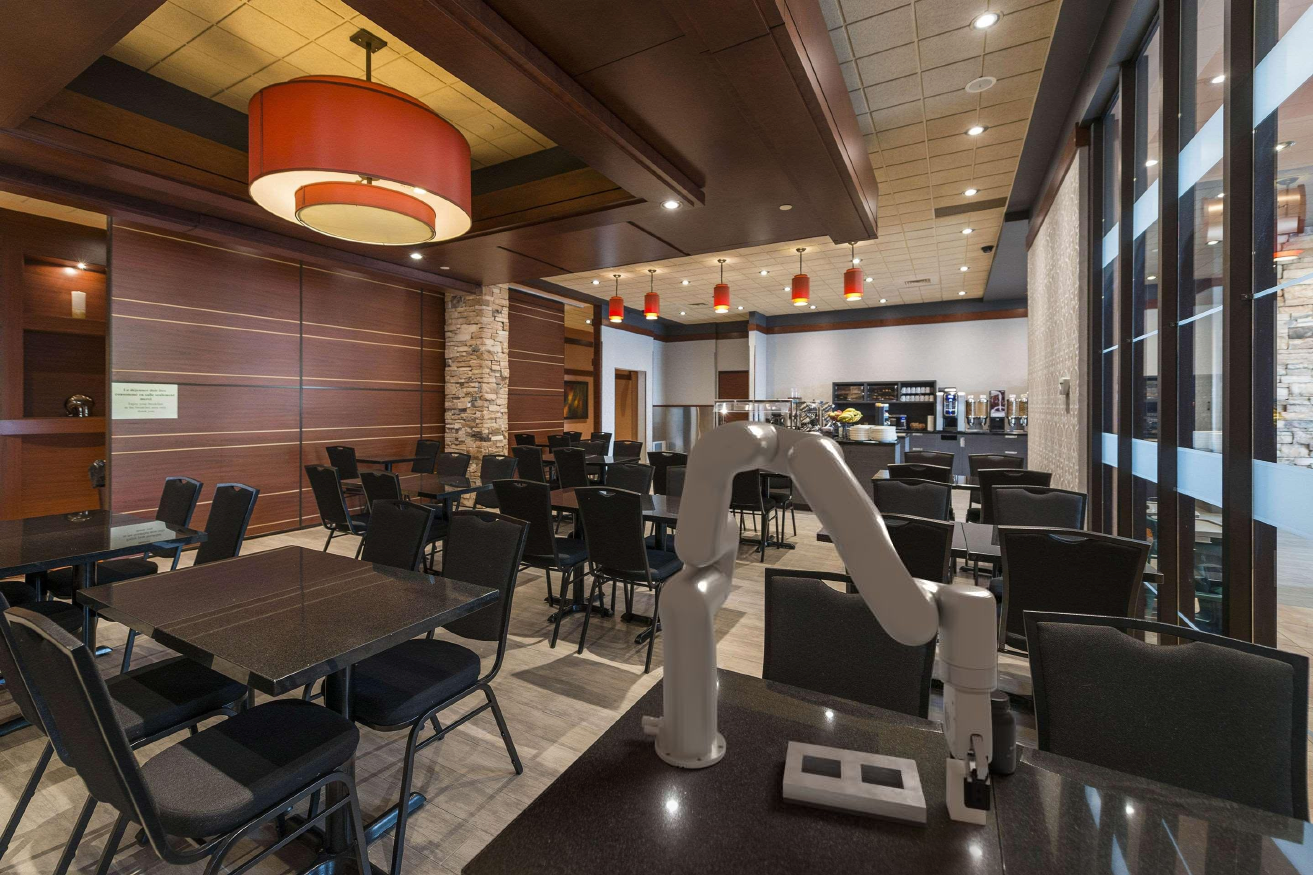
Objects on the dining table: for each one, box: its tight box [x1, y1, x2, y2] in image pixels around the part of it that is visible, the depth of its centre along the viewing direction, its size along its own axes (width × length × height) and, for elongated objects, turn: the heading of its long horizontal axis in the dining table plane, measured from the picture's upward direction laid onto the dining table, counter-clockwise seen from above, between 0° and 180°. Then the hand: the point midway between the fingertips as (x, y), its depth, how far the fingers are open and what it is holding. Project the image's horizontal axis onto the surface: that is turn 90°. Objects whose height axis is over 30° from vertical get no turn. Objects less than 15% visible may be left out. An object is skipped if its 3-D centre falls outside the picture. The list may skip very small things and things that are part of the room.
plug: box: [945, 757, 987, 826], centre depth 85 cm, size 4×4×7 cm
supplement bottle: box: [988, 689, 1017, 776], centre depth 97 cm, size 7×7×12 cm
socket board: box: [782, 740, 927, 829], centre depth 91 cm, size 20×12×3 cm, turn 73°
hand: (969, 786), depth 85 cm, fingers open, 9 cm apart
